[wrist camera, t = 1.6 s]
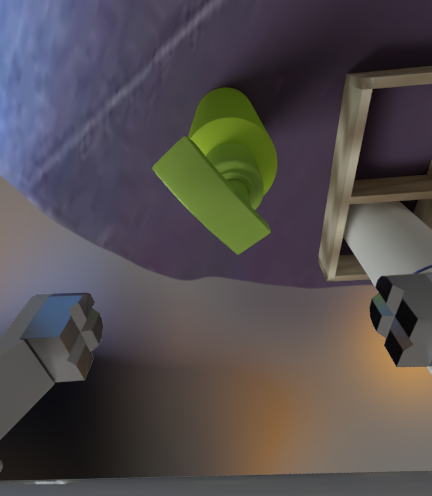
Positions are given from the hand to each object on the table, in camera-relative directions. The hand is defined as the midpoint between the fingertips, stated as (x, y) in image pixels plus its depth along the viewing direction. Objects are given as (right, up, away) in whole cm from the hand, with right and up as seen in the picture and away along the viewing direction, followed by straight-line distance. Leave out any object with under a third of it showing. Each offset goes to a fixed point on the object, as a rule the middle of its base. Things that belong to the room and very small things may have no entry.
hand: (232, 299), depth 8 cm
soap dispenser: (0, +14, +20) cm, 25 cm away
